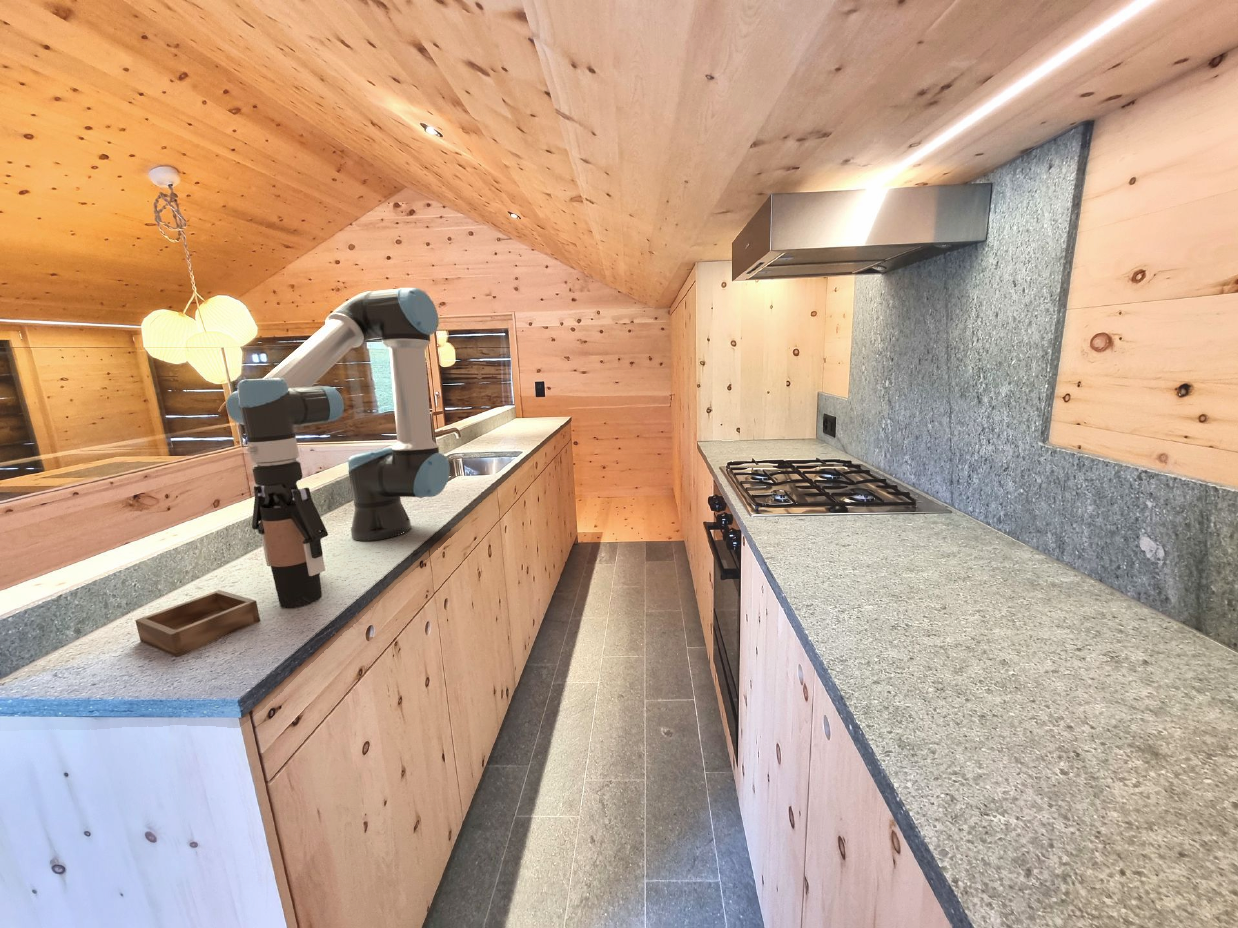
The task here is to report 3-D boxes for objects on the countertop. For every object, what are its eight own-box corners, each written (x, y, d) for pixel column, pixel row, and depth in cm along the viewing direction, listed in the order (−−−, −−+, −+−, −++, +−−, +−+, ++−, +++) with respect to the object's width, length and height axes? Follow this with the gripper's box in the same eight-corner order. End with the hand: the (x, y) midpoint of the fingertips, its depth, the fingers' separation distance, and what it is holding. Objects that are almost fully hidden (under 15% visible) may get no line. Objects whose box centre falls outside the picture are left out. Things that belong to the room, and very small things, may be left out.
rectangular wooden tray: (223, 609, 97) (219, 589, 96) (260, 620, 91) (256, 600, 90) (140, 641, 86) (135, 620, 85) (176, 657, 80) (171, 634, 79)
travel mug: (276, 600, 99) (257, 503, 95) (319, 588, 104) (303, 495, 100) (281, 613, 93) (261, 511, 90) (327, 600, 98) (310, 502, 94)
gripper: (217, 462, 96) (238, 566, 100) (296, 469, 85) (316, 585, 89) (259, 455, 102) (278, 553, 106) (337, 460, 91) (354, 569, 95)
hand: (295, 568), depth 97 cm, fingers open, 13 cm apart
